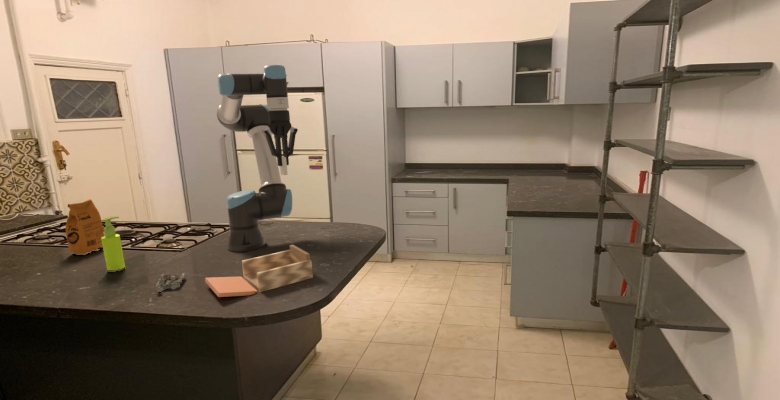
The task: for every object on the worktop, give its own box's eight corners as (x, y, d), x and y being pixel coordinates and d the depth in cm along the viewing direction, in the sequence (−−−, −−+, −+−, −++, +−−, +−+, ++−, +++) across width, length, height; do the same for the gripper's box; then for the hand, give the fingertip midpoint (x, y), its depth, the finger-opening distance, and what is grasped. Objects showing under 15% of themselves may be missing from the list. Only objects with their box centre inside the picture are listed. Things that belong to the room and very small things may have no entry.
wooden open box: (293, 267, 162) (291, 243, 160) (313, 280, 149) (310, 254, 147) (243, 280, 152) (240, 254, 150) (260, 295, 139) (257, 267, 137)
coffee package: (65, 255, 188) (55, 204, 183) (92, 246, 200) (83, 198, 195) (83, 257, 185) (73, 205, 181) (110, 247, 197) (101, 198, 192)
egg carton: (164, 283, 153) (162, 271, 153) (187, 280, 155) (185, 269, 154) (154, 295, 143) (152, 283, 142) (179, 292, 144) (177, 280, 144)
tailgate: (241, 276, 151) (205, 277, 144) (257, 290, 138) (219, 293, 132) (240, 279, 151) (205, 281, 144) (256, 294, 138) (218, 297, 132)
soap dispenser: (131, 267, 170) (122, 215, 166) (115, 273, 164) (105, 220, 160) (120, 265, 172) (111, 215, 168) (103, 272, 166) (93, 219, 162)
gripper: (264, 110, 155) (271, 177, 160) (299, 109, 162) (304, 173, 167) (257, 110, 161) (263, 175, 166) (291, 109, 168) (296, 171, 173)
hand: (284, 174), depth 167 cm, fingers closed
